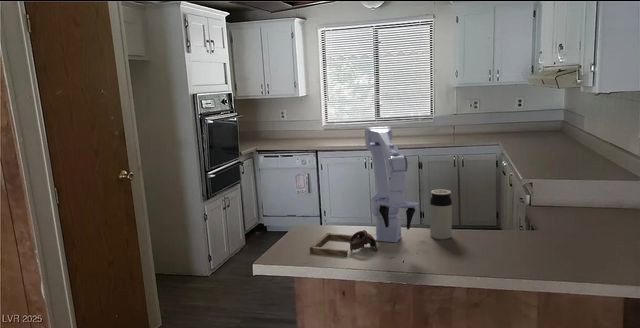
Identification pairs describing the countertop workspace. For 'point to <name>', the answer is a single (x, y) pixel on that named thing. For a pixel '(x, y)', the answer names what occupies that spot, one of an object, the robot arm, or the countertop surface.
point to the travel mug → (440, 214)
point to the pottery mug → (362, 240)
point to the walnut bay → (329, 251)
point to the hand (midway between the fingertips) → (397, 227)
